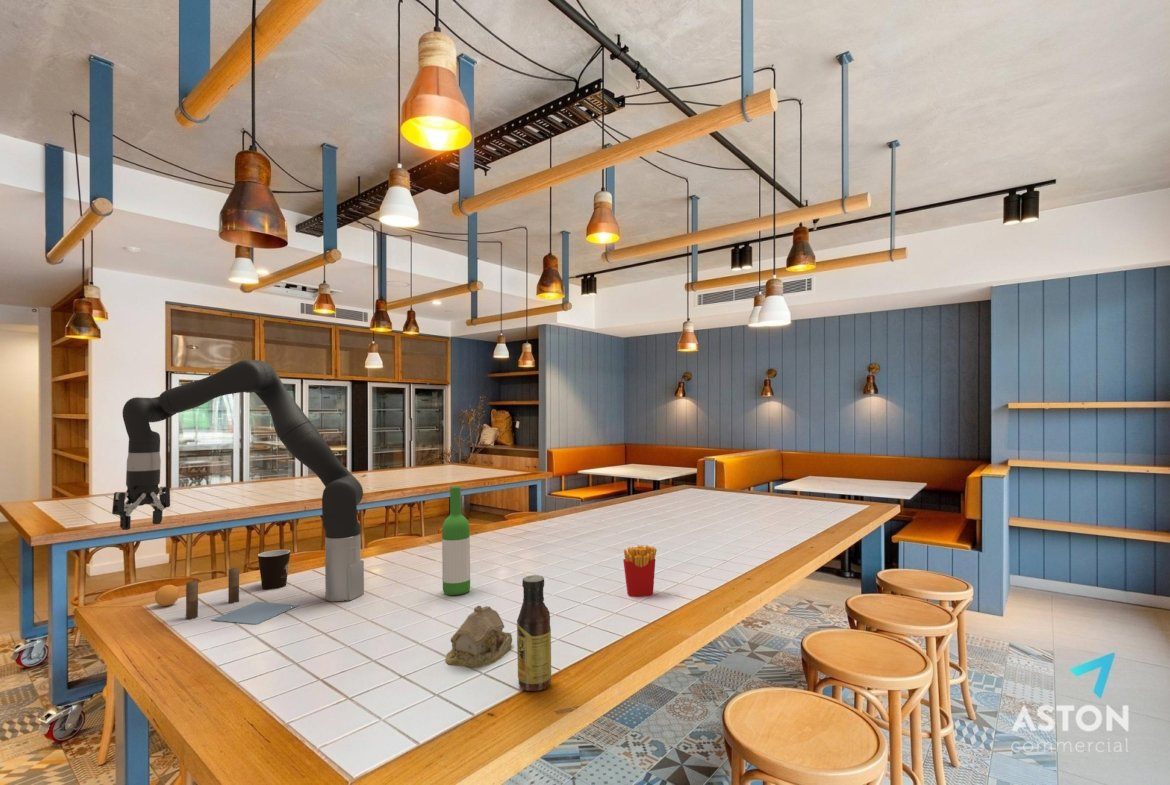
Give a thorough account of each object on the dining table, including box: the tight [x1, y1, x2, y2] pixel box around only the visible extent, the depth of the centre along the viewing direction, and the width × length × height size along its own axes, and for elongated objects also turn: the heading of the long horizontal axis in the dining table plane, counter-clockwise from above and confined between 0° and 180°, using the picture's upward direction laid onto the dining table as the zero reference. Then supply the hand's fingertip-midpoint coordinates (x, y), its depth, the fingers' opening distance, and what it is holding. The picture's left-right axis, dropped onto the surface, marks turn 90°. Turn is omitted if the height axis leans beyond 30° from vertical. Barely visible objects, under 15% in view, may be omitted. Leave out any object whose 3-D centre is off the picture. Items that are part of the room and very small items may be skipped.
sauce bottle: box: [516, 574, 552, 692], centre depth 104 cm, size 6×6×20 cm
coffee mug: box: [257, 549, 291, 591], centre depth 172 cm, size 12×9×10 cm
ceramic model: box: [444, 605, 513, 668], centre depth 119 cm, size 14×11×10 cm
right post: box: [227, 567, 240, 604], centre depth 156 cm, size 2×2×9 cm
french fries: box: [622, 544, 657, 598], centre depth 156 cm, size 9×4×13 cm, turn 100°
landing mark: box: [211, 601, 299, 625], centre depth 147 cm, size 14×14×1 cm
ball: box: [154, 584, 180, 607], centre depth 154 cm, size 6×6×6 cm
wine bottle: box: [441, 485, 471, 596], centre depth 161 cm, size 8×8×30 cm
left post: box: [185, 580, 199, 620], centre depth 144 cm, size 2×2×9 cm
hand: (141, 526), depth 157 cm, fingers open, 8 cm apart
